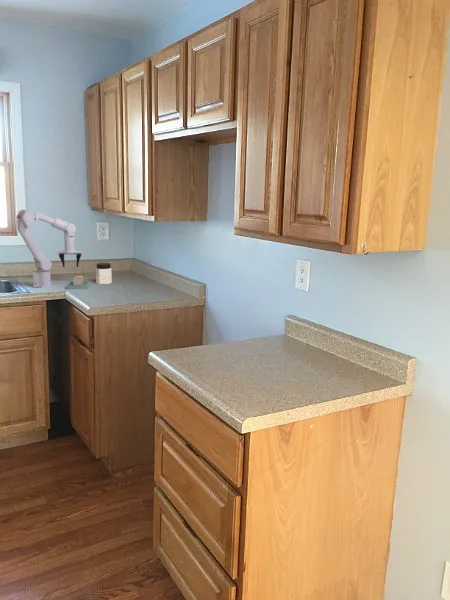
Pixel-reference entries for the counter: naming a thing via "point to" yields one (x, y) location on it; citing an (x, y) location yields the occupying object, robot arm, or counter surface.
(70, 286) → the tote
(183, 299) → the counter surface
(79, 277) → the tan box
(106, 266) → the jar
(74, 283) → the concrete cube
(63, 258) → the robot arm
